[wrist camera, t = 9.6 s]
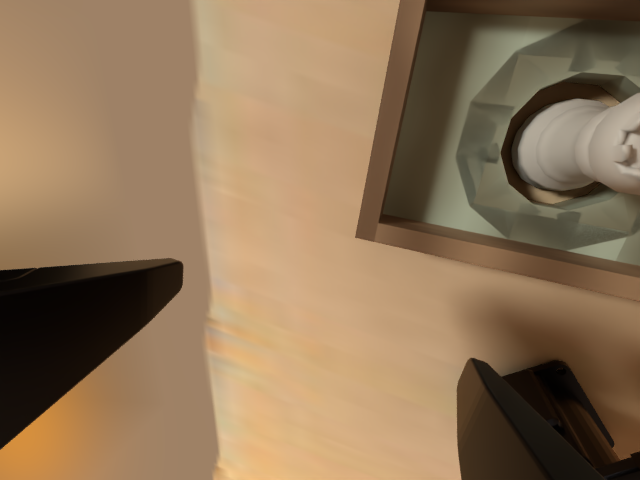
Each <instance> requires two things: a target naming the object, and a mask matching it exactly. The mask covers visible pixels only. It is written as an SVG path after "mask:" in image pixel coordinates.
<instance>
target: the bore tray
mask: <svg viewBox="0 0 640 480" xmlns="http://www.w3.org/2000/svg"><path fill="white" fill-rule="evenodd" d="M560 82H570V83H582V84H593V85H600V86H601V87H602V88H603V89H604V90H606V91H607V92H608V93H609V94H611V95H612V96H613V97H614V98H616V99H617V100H618V101H619V102H620V103H622V102H623V101H625V100H627V99H628V98H630V97H632V96H633V95H635V94H637V93H640V0H400V4H399V9H398V15H397V20H396V25H395V30H394V36H393V41H392V46H391V51H390V57H389V62H388V67H387V73H386V78H385V83H384V88H383V94H382V99H381V104H380V109H379V115H378V120H377V125H376V131H375V136H374V141H373V146H372V152H371V157H370V162H369V167H368V173H367V178H366V183H365V189H364V194H363V199H362V204H361V210H360V215H359V220H358V225H357V231H356V236H355V238H360V239H364V240H368V241H373V242H377V243H382V244H386V245H391V246H395V247H400V248H404V249H409V250H413V251H417V252H422V253H426V254H431V255H435V256H440V257H444V258H449V259H453V260H458V261H462V262H466V263H471V264H475V265H480V266H484V267H489V268H493V269H498V270H502V271H506V272H511V273H515V274H520V275H524V276H529V277H533V278H538V279H542V280H547V281H551V282H555V283H560V284H564V285H569V286H573V287H578V288H582V289H587V290H591V291H596V292H600V293H604V294H609V295H613V296H618V297H622V298H627V299H631V300H636V301H640V195H634V194H628V193H621V192H616V191H614V190H613V189H611V188H609V187H608V186H606V185H604V184H603V183H601V184H600V185H599V186H598V187H596V188H595V189H594V190H593V191H591V192H590V193H589V194H588V195H585V196H581V197H577V198H574V199H570V200H566V201H563V202H559V203H555V204H548V203H542V202H536V201H530V200H527V199H526V198H525V197H524V196H523V195H521V194H520V193H519V192H518V191H517V190H515V189H514V188H513V187H512V186H511V185H510V184H508V180H507V176H506V173H505V169H504V165H503V161H502V158H501V154H500V152H501V149H502V146H503V142H504V139H505V136H506V133H507V130H508V127H509V123H510V120H511V118H512V117H513V116H514V115H515V114H516V113H517V112H518V111H519V110H520V109H521V108H522V107H523V106H524V105H525V104H526V103H527V102H528V101H529V100H530V99H531V98H532V97H533V96H534V95H535V94H536V93H537V92H538V91H540V90H542V89H545V88H547V87H550V86H552V85H555V84H558V83H560Z"/></svg>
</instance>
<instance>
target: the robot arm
mask: <svg viewBox="0 0 640 480" xmlns="http://www.w3.org/2000/svg"><path fill="white" fill-rule="evenodd" d="M182 284H183V263H182V262H181V261H178V260H175V259H172V258H166V259H152V260H138V261H125V262H110V263H96V264H83V265H69V266H55V267H43V268H42V267H41V268H38V269H37V268H28V269H12V270H0V450H1V449H2V448H3V447H4V446H5V445H6V444H8V443H9V442H10V441H11V440H12V439H13V438H15V437H16V436H17V435H18V434H19V433H20V432H22V431H23V430H24V429H25V428H26V427H28V426H29V425H30V424H31V423H32V422H33V421H35V420H36V419H37V418H38V417H39V416H40V415H42V414H43V413H44V412H45V411H46V410H48V409H49V408H50V407H51V406H52V405H53V404H55V403H56V402H57V401H58V400H59V399H60V398H62V397H63V396H64V395H65V394H66V393H67V392H69V391H70V390H71V389H72V388H73V387H75V386H76V385H77V384H78V383H79V382H80V381H81V380H83V379H84V378H85V377H86V376H87V375H89V374H90V373H91V372H92V371H93V370H94V369H96V368H97V367H98V366H99V365H100V364H101V363H103V362H104V361H105V360H106V359H107V358H109V357H110V356H111V355H112V354H113V353H114V352H116V351H117V350H118V349H119V348H120V347H121V346H123V345H124V344H125V343H126V342H127V341H128V340H130V339H131V338H132V337H133V336H134V335H136V334H137V333H138V332H139V331H140V330H141V329H142V328H143V327H145V326H146V325H147V324H148V323H149V322H150V321H151V320H152V319H153V318H154V317H155V316H156V315H157V314H158V313H159V312H160V311H161V310H162V309H163V308H164V307H165V306H166V305H167V304H168V303H169V302H170V301H171V300H172V298H174V297H175V296H176V294H177V293H178V292H179V291H180V290H181V288H182ZM558 368H563V369H562V370H561V371H556V370H557V369H558ZM457 442H458V455H459V463H460V471H461V479H462V480H640V451H639V452H636V453H633V454H630V455H631V457H630V458H627V459H624V460H621V461H620V460H619V458H618V457H617V455H616V454H615V452H614V451H613V449H612V448H613V447H614V441H613V440H612V438H611V436H610V435H609V433H608V431H607V430H606V428H605V426H604V425H603V423H602V421H601V419H600V418H599V416H598V414H597V413H596V411H595V409H594V408H593V406H592V404H591V403H590V401H589V399H588V398H587V396H586V394H585V393H584V391H583V389H582V388H581V386H580V384H579V383H578V381H577V379H576V378H575V376H574V374H573V373H572V371H571V369H570V368H569V367H568V365H567V364H566V363H565V362H563V361H559V360H557V361H552V362H549V363H546V364H542V365H539V366H536V367H532V368H529V369H526V370H522V371H519V372H516V373H513V374H509V375H506V376H503V377H501V376H500V375H499V374H498V373H497V372H496V371H495V370H494V369H493V368H492V367H491V366H490V365H489V364H488V363H486V362H484V361H481V360H478V359H475V358H470V359H469V360H468V361H467V363H466V365H465V367H464V370H463V372H462V374H461V377H460V379H459V381H458V385H457Z"/></svg>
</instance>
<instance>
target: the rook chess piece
mask: <svg viewBox="0 0 640 480" xmlns="http://www.w3.org/2000/svg"><path fill="white" fill-rule="evenodd" d="M511 152H512V162H513V166H514V168H515V169H516V171H517V173H518V174H519V176H520V177H521V179H523V180H524V181H526V182H528V183H529V184H531V185H532V186H534V187H536V188H542V189H548V190H558V191H565V190H570V189H576V188H582V187H584V186H586V185H588V184H590V183H592V182H594V181H597V182H601V183H603V184H604V185H606V186H608V187H609V188H611V189H613V190H614V191H616V192H621V193H628V194H634V195H640V93H637V94H635V95H633V96H632V97H630V98H628V99H627V100H625V101H623V102H622V103H620V104H618V105H617V106H613V107H609V106H607V105H605V104H603V103H602V102H600V101H597V100H588V99H577V98H575V99H572V100H564V101H561V102H557V103H553V104H549V105H546V106H545V107H543V108H542V109H540V110H538V111H537V112H535V113H534V114H532V115H531V116H529V117H528V119H527V120H526V121H525V122H524V124H523V125H522V126H521V127H520V129H519V130H518V131H517V133H516V136H515V139H514V142H513V145H512V148H511Z"/></svg>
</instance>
